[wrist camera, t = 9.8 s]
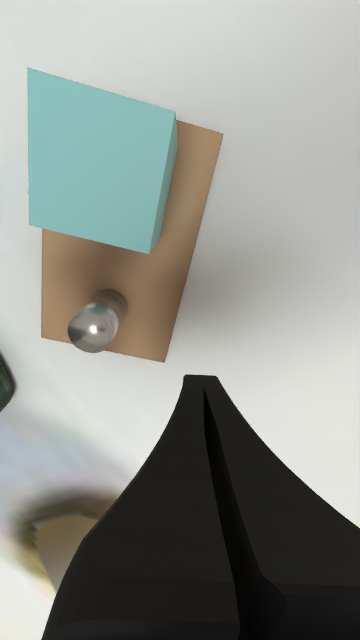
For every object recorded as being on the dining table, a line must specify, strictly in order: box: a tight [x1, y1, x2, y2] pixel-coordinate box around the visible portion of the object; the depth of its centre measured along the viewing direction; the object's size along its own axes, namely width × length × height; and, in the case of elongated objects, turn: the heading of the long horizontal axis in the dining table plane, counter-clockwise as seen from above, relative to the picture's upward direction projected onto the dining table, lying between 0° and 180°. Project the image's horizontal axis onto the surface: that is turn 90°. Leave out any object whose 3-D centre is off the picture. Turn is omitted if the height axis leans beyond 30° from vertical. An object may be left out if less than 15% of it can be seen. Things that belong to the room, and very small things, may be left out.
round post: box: [67, 289, 128, 353], centre depth 17 cm, size 3×3×4 cm
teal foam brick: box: [27, 67, 178, 254], centre depth 13 cm, size 5×5×6 cm
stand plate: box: [41, 120, 223, 363], centre depth 17 cm, size 10×16×1 cm, turn 166°
